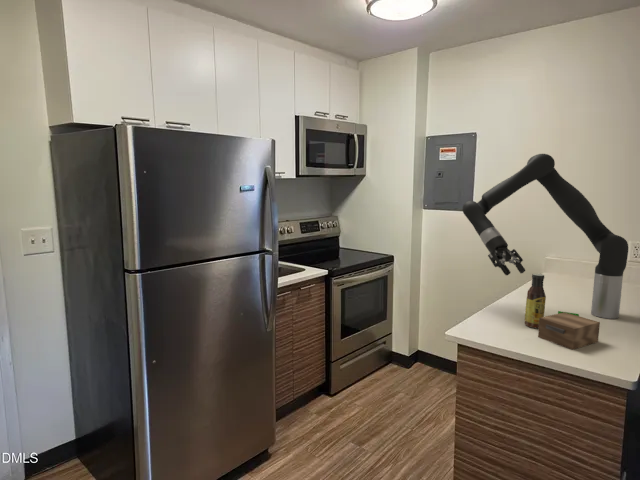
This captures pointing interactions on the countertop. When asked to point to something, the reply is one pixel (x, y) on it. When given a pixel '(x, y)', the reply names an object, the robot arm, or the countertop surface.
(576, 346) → the walnut box
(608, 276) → the robot arm
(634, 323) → the countertop surface
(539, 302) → the sauce bottle
